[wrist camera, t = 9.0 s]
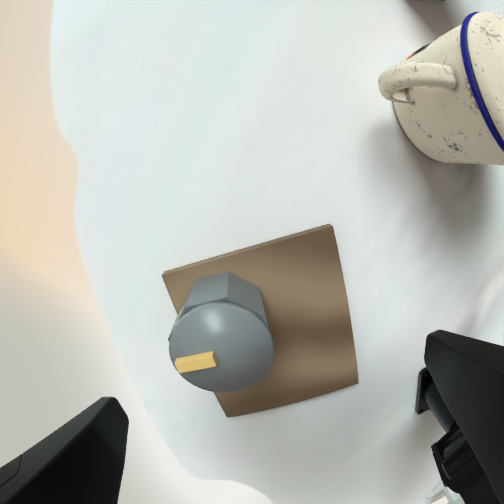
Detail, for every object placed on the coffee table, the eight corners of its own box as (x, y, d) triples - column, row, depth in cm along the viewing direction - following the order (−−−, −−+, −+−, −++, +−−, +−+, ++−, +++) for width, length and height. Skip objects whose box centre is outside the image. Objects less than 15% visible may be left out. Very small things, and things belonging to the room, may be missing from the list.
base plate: (355, 377, 21) (370, 407, 18) (227, 411, 22) (225, 444, 18) (329, 223, 18) (349, 235, 14) (164, 271, 18) (147, 293, 15)
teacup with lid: (463, 62, 15) (561, 30, 3) (482, 166, 17) (595, 179, 6) (336, 42, 15) (418, -59, 4) (359, 169, 17) (496, 173, 6)
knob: (252, 264, 18) (259, 299, 13) (273, 335, 19) (284, 386, 14) (172, 286, 18) (150, 326, 13) (199, 353, 19) (190, 405, 14)
